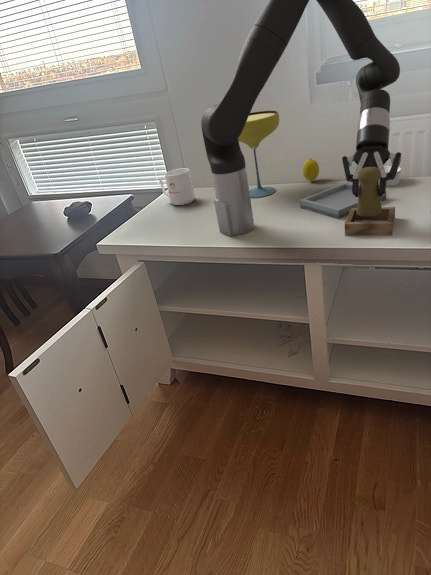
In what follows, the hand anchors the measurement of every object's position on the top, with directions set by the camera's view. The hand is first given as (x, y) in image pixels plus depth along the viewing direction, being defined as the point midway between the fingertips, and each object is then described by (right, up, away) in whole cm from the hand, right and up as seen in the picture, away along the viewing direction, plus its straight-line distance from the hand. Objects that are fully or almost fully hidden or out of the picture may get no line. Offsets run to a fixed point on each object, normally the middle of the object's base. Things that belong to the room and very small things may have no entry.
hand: (368, 195), depth 103 cm
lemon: (-3, +14, +47) cm, 49 cm away
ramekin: (+17, +10, +32) cm, 37 cm away
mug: (-50, +8, +53) cm, 73 cm away
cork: (+2, -4, +4) cm, 6 cm away
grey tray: (0, +2, +23) cm, 23 cm away
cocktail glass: (-21, +11, +46) cm, 52 cm away
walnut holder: (+2, -7, +6) cm, 9 cm away
